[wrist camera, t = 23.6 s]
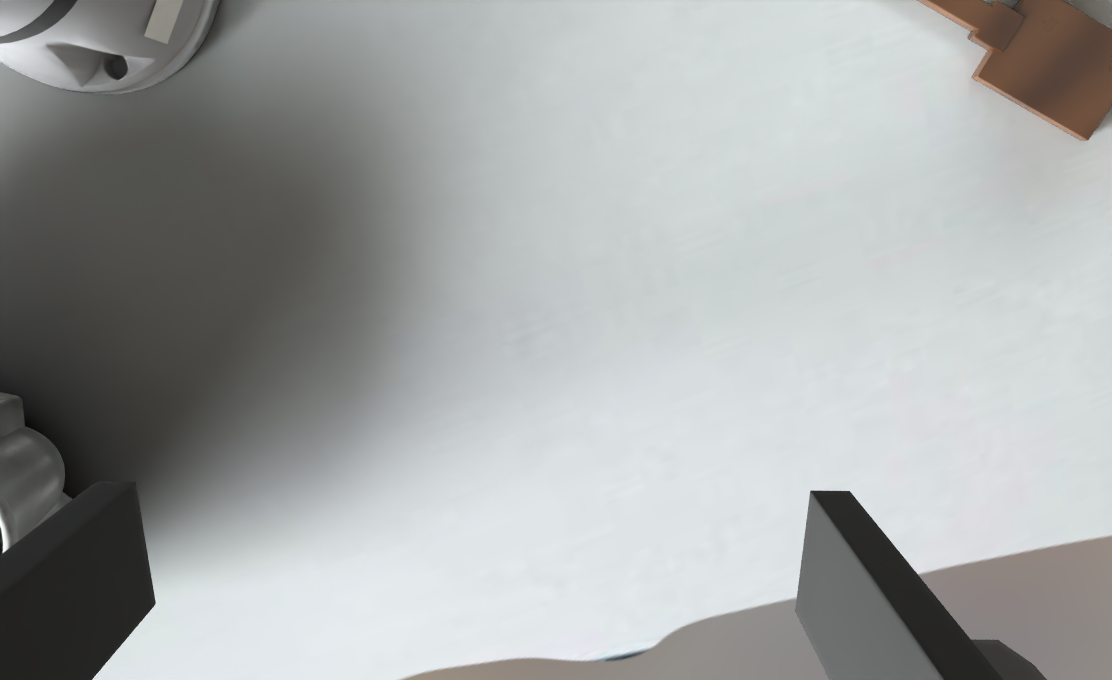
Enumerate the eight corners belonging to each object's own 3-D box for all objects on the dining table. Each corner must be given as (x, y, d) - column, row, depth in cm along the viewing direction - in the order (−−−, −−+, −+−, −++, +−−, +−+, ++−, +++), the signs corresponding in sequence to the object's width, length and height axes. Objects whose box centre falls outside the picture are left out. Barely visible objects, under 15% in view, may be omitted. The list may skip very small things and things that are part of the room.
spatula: (781, -32, 41) (786, -35, 40) (834, -131, 39) (840, -136, 39) (1079, 140, 43) (1089, 140, 43) (1139, 53, 42) (1149, 51, 41)
